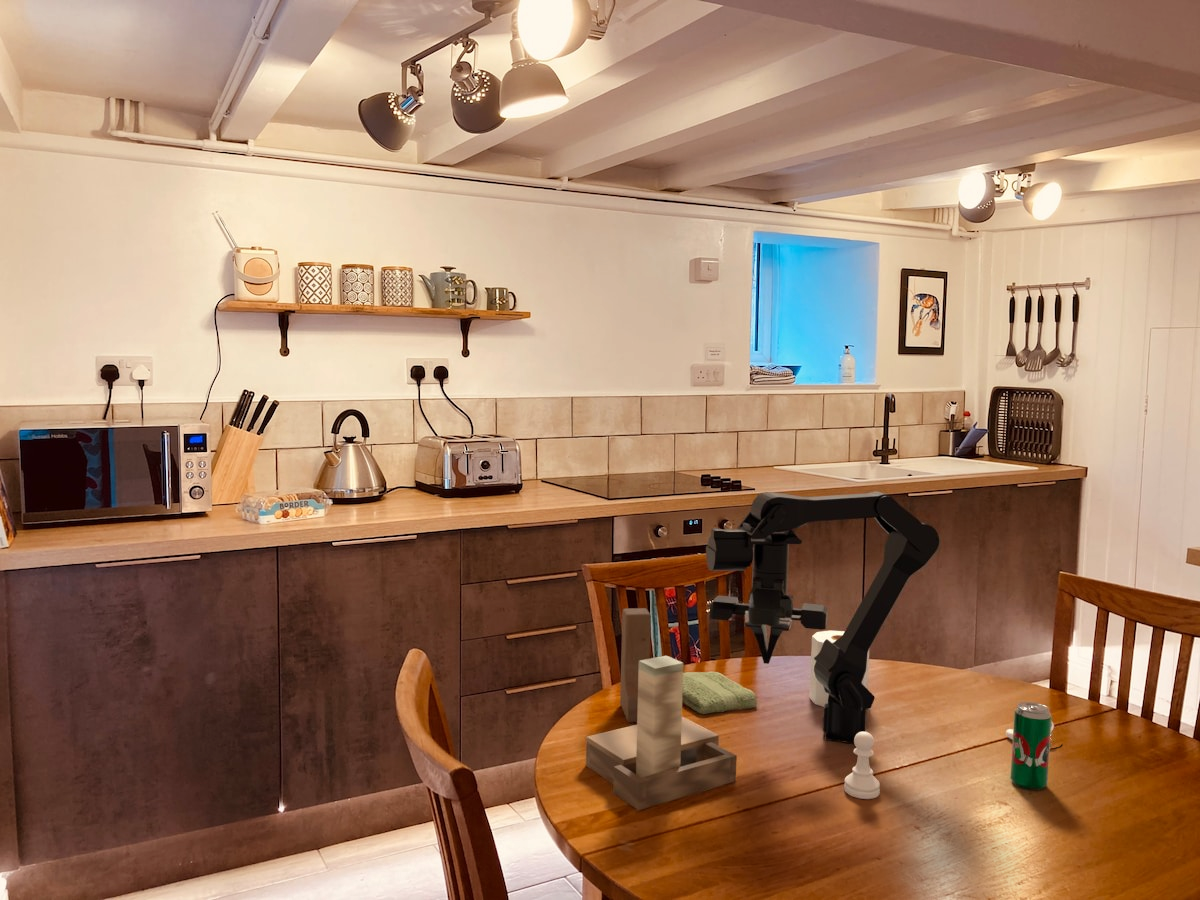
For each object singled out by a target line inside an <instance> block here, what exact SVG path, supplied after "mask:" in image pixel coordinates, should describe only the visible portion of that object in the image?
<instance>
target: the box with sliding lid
mask: <svg viewBox="0 0 1200 900" xmlns="http://www.w3.org/2000/svg"><path fill="white" fill-rule="evenodd" d="M719 735H720V734H718V733H715V732H713V731H711V730H709V729H708V728H705V727H703V726H702V725H700V724H697V723H696V722H695V721H692V720H691V719H688V718H686V717H684V716H683V715H682V727H681V761H680V767H678V768H674V769H671V770H667V771H663V772H660V773H656V774H653V775H649V776H645V777H642V778H641V777H639V776H638V775H636V752H637V724H634V725H633V724H632V725H629V726H625V727H621V728H617V729H612V730H609V731H605V732H600V733H595V734H591V735H587V736H586V742H585V743H586V746H585V747H586V748H585V766H586V767H588V768H589V769H590V770H591V771H593V772H595V773H596V774H597V775H599V776H601V777H602V778H604V779H605V780H606V781H608V782H610V783H611V784H612V785H613V791H612V792H613V794H614V795H615V796H616V797H618V798H620V799H621V800H623V802H625V803H627V804H628V805H630V807H632V808H634V809H635V810H636V811H641V810H645V809H648V808H649V809H650V808H652V807H655V806H658V805H662V804H665V803H670V802H672V801H676V800H677V799H682V798H685V797H686V798H687V797H688V796H692V795H695V794H699V793H702V792H705V791H708V790H712V789H715V788H718V787H721V786H726V785H729V784H732V783H736V782H737V755H736V754H735V753H732V752H730V751H729V750H727V749H726V748H723V747H722V746H719V739H720V737H719Z"/></svg>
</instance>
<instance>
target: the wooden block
mask: <svg viewBox="0 0 1200 900" xmlns="http://www.w3.org/2000/svg"><path fill="white" fill-rule="evenodd" d="M621 614H622V615H621V617H622V618H621V651H620V652H621V653H620V656H621V658H620V692H619V693H620V700H619V703H620V707H621V709H622V712H623V713H624V716H625V719H626V721H627V722H628V723H630V724H631V723H633V724H634V723H636V724H637V711H638V670H639V661H640V660H645V659H651V657H650V655H651V623H652V622H651V621H652V620H651V617H652V616H651V613H650V612H649V610H648V609H647V608H645V607H643V608H642V607H641V608H640V607H638V608H637V607H635V608H632V607H631V608H623V609H622V612H621Z"/></svg>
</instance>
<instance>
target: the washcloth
mask: <svg viewBox="0 0 1200 900" xmlns="http://www.w3.org/2000/svg"><path fill="white" fill-rule="evenodd" d="M682 704H684V705H686V706H687V707H689V708H690V709H692V710H693V711H695V712H697V713H698V714H700V715H706V714H713V713H724V712H725V711H731V710H737V711H739V710H746V709H748V710H749V709H753V708H755V707H757V706H758V701H757V697H756V694H755V693H754V691H752V690H751V689H749V688H746V687H744V686H742V685H741V684H739V683H738V682H735V681H734V680H731V679H729V678H728V677H727V676H726V675H724V674H722V673H721V672H719V671H705V672H704V671H703V672H701V671H696V672H695V671H694V672H693V671H692V672H691V671H690V672H689V671H687V672H683V692H682Z"/></svg>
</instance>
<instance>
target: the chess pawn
mask: <svg viewBox="0 0 1200 900" xmlns="http://www.w3.org/2000/svg"><path fill="white" fill-rule="evenodd" d="M853 744H854V746H855V747H856V748H854V749H853V754H855V755H857V759H856V760H857V761H856V764H855V766H853V767H852V772H850V773H849V774H848V775H847V776H845V778H844V786H843V790H844V791H845V793H846V794H848V795H849V796H851V797H853V798H856V799H861V800H862V799H863V800H871V799H872V800H873V799H875V798H878V797H879V795H880V792H881V791H880V787H881V783H880V781H879V780H878V779H877V778H876V776H874V771H873V769H872V768H871V766H870V757H872V756H874V754H875V753H874V751H873V750H872V749H873V748H874V746H875V739H874V737H873V735H872V734H871V733H869V732H868V731H866V732H859V733H857V734H856V736H855V738H854V743H853Z"/></svg>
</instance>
